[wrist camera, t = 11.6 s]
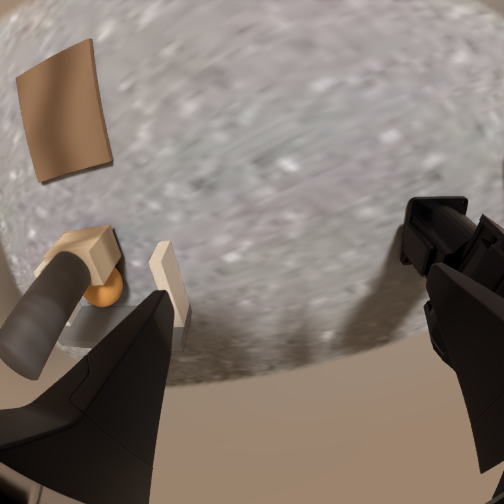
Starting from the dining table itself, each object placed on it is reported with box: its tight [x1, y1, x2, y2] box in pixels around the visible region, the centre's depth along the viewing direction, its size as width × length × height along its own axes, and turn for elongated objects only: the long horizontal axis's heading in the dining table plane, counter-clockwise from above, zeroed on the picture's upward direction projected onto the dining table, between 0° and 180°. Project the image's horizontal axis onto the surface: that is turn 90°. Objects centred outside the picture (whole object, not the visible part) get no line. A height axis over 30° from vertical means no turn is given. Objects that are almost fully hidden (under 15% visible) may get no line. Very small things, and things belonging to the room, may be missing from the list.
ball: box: [83, 267, 123, 307], centre depth 23 cm, size 4×4×4 cm
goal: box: [34, 241, 192, 352], centre depth 24 cm, size 14×8×5 cm, turn 96°
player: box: [0, 225, 121, 380], centre depth 17 cm, size 5×4×13 cm
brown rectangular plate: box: [16, 39, 113, 182], centre depth 17 cm, size 8×10×1 cm
